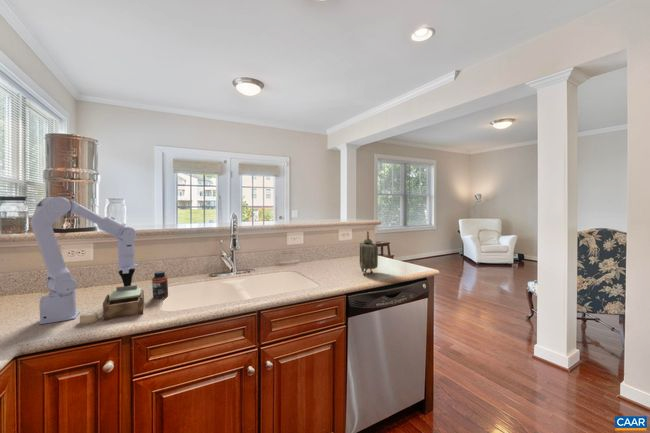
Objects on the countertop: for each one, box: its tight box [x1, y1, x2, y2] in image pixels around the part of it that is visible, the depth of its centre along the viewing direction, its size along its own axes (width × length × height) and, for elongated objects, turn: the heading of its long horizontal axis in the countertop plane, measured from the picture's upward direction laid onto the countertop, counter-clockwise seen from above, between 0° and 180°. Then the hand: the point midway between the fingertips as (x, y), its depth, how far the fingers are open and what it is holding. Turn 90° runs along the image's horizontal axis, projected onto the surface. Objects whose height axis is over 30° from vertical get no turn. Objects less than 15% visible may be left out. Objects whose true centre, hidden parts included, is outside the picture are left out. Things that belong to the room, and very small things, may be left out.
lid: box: [109, 284, 142, 301], centre depth 116 cm, size 10×11×2 cm
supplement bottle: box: [151, 270, 169, 300], centre depth 128 cm, size 6×6×11 cm
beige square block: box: [79, 311, 99, 326], centre depth 102 cm, size 5×5×3 cm
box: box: [102, 289, 145, 321], centre depth 111 cm, size 12×11×6 cm
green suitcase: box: [359, 230, 379, 277], centre depth 169 cm, size 14×9×25 cm, turn 178°
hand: (127, 286), depth 123 cm, fingers closed
